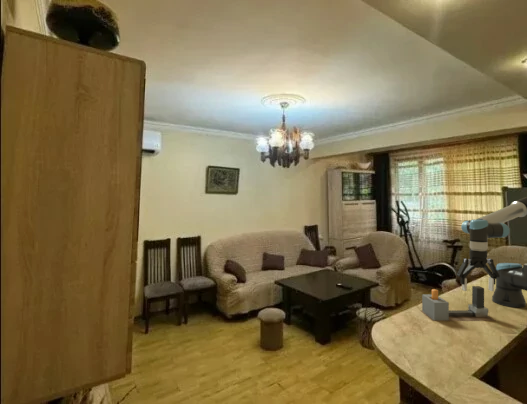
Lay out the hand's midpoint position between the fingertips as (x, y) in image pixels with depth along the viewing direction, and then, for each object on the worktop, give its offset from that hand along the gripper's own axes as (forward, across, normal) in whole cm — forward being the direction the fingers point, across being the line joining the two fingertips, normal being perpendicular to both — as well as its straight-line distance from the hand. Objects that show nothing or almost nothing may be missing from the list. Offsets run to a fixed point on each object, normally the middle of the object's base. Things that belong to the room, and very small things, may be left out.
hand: (477, 290), depth 154 cm
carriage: (+13, 0, 0) cm, 13 cm away
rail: (+13, +7, 0) cm, 15 cm away
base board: (+14, +10, 0) cm, 17 cm away
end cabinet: (+13, +22, 0) cm, 25 cm away
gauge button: (+8, +22, 0) cm, 23 cm away
